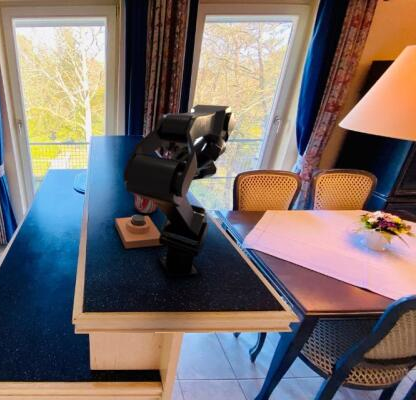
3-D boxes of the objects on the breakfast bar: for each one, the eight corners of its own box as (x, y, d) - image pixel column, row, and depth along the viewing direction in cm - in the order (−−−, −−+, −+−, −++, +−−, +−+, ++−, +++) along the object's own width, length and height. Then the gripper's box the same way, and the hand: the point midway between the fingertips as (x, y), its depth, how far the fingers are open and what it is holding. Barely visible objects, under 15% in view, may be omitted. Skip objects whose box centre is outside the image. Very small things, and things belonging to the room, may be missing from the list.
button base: (162, 244, 69) (164, 232, 67) (125, 248, 68) (126, 235, 66) (147, 222, 80) (148, 210, 78) (115, 224, 78) (115, 213, 77)
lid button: (146, 226, 71) (147, 220, 70) (133, 227, 70) (134, 221, 70) (142, 219, 74) (142, 214, 73) (130, 220, 74) (130, 215, 73)
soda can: (156, 215, 83) (159, 180, 78) (133, 213, 85) (135, 178, 79) (156, 205, 90) (159, 172, 84) (135, 204, 91) (137, 171, 86)
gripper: (216, 121, 65) (180, 154, 79) (153, 127, 59) (126, 162, 72) (236, 160, 62) (195, 187, 76) (172, 172, 55) (140, 199, 69)
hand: (165, 183), depth 74 cm, fingers open, 9 cm apart
